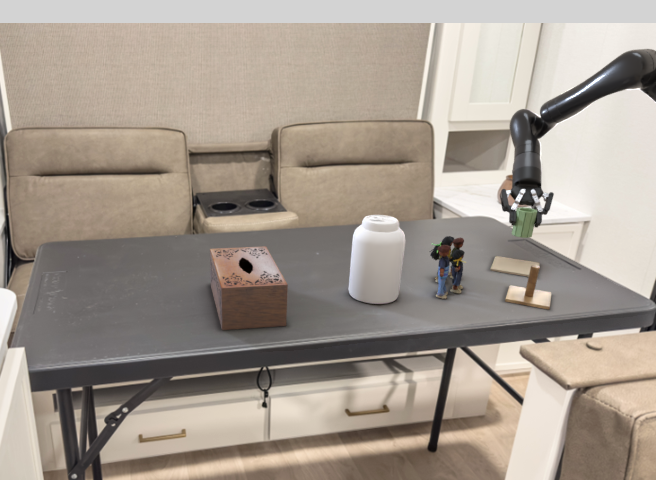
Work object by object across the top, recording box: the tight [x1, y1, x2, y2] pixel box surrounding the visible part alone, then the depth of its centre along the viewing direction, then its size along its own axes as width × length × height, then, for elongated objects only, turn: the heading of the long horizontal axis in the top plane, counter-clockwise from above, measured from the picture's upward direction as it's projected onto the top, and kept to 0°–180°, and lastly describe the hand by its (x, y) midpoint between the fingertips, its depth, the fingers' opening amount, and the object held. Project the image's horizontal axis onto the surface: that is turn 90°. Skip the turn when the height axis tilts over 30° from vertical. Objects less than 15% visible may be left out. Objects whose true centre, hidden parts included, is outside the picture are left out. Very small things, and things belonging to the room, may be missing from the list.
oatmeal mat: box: [489, 255, 541, 278], centre depth 166 cm, size 12×12×1 cm
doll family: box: [429, 235, 467, 300], centre depth 150 cm, size 23×9×13 cm, turn 170°
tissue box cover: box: [209, 245, 289, 331], centre depth 138 cm, size 26×14×10 cm, turn 10°
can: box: [348, 214, 406, 305], centre depth 142 cm, size 12×12×20 cm
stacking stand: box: [504, 265, 552, 311], centre depth 144 cm, size 10×10×9 cm
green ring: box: [511, 206, 537, 239], centre depth 160 cm, size 5×5×7 cm
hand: (525, 225), depth 159 cm, fingers closed on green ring, 5 cm apart
